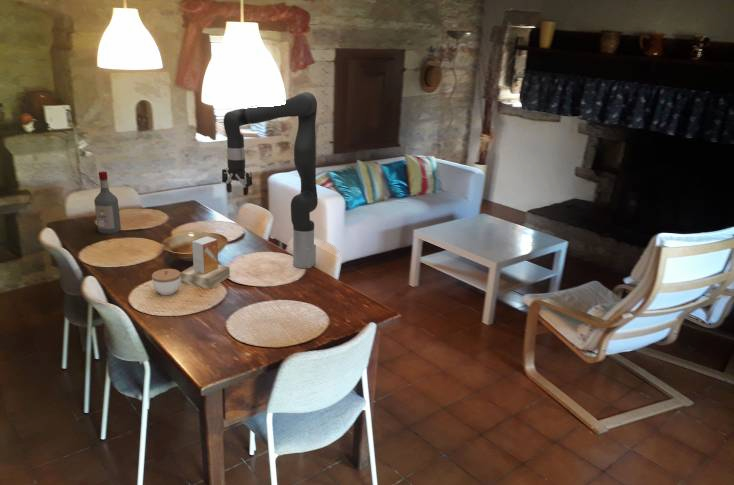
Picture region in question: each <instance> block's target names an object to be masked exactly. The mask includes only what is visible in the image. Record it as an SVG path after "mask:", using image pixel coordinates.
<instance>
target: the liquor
mask: <svg viewBox="0 0 734 485" xmlns="http://www.w3.org/2000/svg"><path fill="white" fill-rule="evenodd" d="M98 178H99V187H100V190H99V191H100V192H99V193H98V194H97V196H95V198H94V200H93V201H94V202H93V203H94V210H95V216H96V217H95V218H96V224H97V231H98V232H99V233H100V234H106V235H111V234H116V233H118V232H120V231H121V229H122V226H121V217H120V209H119V208H120V207H119V201H118V197H117V196H116V195H114V194H113V193H112V192H111V191H110V189H109V180H108V172H107V171H98Z"/></svg>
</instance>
